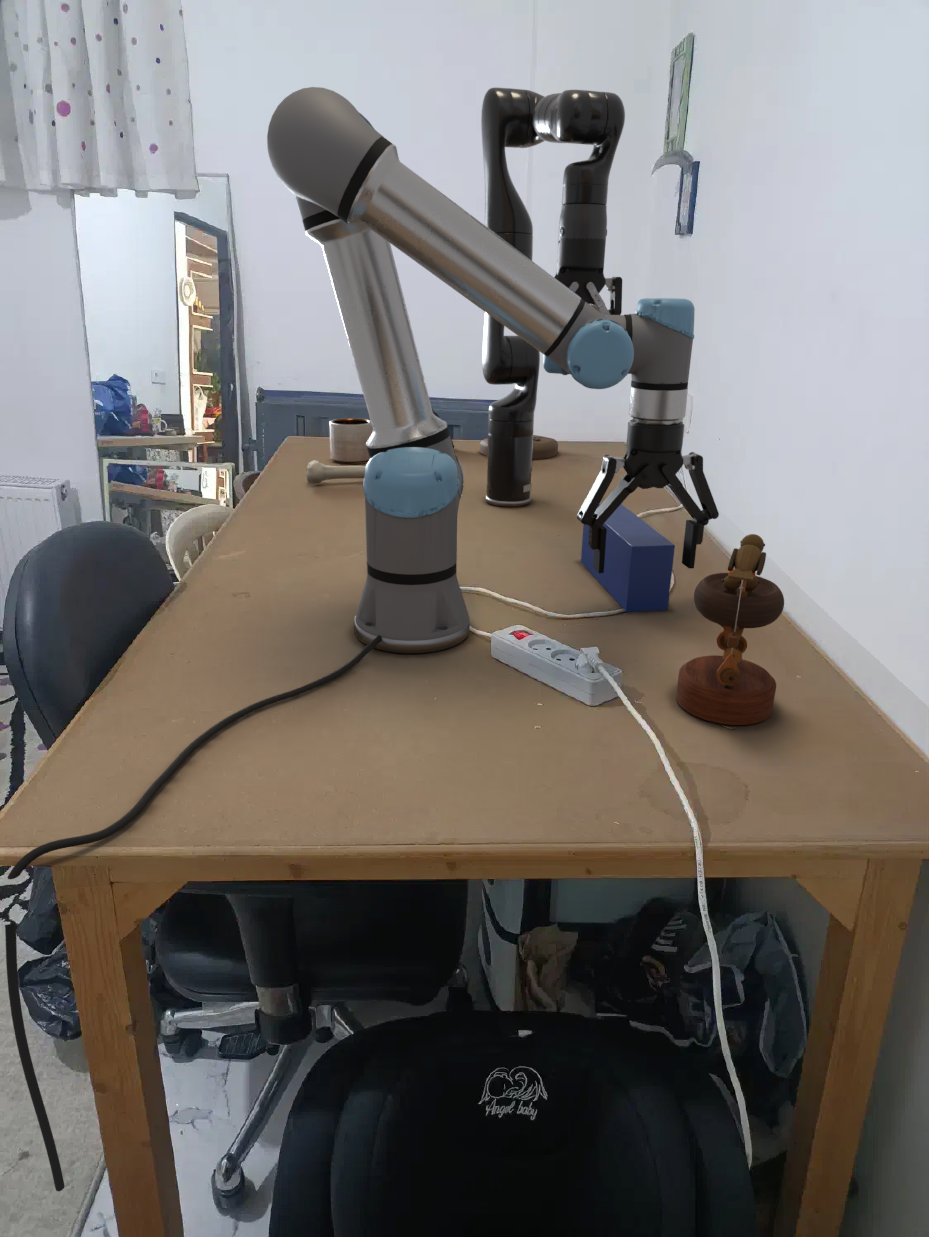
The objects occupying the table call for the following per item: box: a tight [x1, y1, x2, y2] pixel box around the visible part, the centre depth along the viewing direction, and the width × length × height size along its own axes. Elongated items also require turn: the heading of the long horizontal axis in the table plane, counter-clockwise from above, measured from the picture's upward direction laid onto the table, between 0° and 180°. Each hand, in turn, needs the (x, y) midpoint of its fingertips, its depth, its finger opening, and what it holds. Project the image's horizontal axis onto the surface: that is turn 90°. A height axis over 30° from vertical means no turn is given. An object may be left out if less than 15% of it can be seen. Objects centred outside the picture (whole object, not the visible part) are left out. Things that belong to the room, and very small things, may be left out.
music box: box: [675, 533, 785, 726], centre depth 92 cm, size 15×11×20 cm
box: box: [580, 503, 676, 613], centre depth 130 cm, size 23×6×10 cm, turn 9°
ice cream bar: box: [479, 434, 559, 460], centre depth 219 cm, size 21×28×4 cm
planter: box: [328, 417, 373, 464], centre depth 212 cm, size 11×11×10 cm
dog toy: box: [305, 459, 366, 484], centre depth 190 cm, size 20×6×5 cm, turn 99°
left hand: (643, 568), depth 123 cm, fingers open, 13 cm apart
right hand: (575, 343), depth 141 cm, fingers open, 8 cm apart
